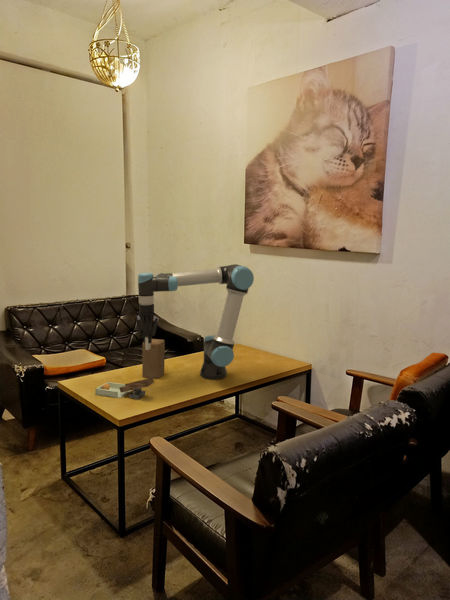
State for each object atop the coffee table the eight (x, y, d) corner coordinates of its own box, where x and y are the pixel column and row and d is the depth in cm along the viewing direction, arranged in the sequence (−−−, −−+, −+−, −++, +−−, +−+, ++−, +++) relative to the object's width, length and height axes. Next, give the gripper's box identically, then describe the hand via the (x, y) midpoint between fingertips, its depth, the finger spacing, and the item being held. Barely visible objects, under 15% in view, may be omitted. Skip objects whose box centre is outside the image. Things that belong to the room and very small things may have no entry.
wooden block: (158, 379, 249) (159, 343, 246) (141, 377, 251) (141, 342, 248) (164, 373, 259) (165, 339, 256) (148, 372, 261) (148, 338, 258)
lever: (161, 377, 230) (159, 371, 230) (148, 386, 216) (146, 379, 216) (134, 383, 235) (132, 377, 235) (120, 393, 222) (118, 386, 222)
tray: (131, 391, 230) (131, 385, 230) (120, 398, 220) (120, 392, 219) (107, 387, 234) (107, 381, 234) (95, 394, 224) (95, 388, 223)
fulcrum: (145, 394, 226) (145, 386, 225) (138, 399, 219) (138, 391, 218) (136, 393, 227) (136, 385, 226) (129, 398, 220) (129, 390, 220)
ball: (112, 385, 229) (106, 381, 229) (108, 387, 225) (103, 383, 226) (109, 390, 230) (103, 386, 230) (105, 393, 226) (99, 388, 227)
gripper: (161, 303, 230) (162, 348, 234) (138, 302, 234) (139, 346, 238) (155, 305, 223) (156, 352, 227) (131, 304, 227) (132, 350, 231)
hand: (147, 349), depth 232 cm, fingers closed
